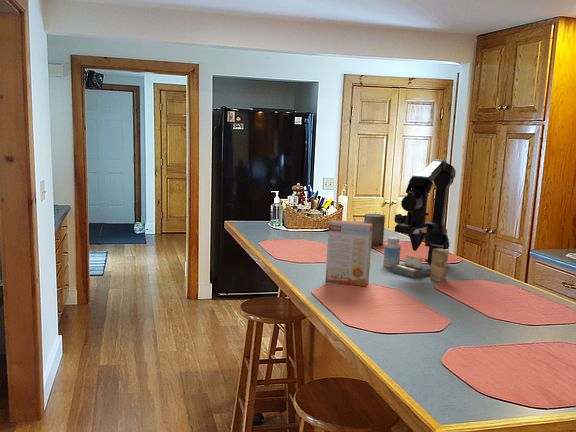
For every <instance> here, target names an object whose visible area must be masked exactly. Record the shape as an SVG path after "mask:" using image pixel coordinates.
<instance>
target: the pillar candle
mask: <svg viewBox="0 0 576 432" xmlns="http://www.w3.org/2000/svg"><path fill="white" fill-rule="evenodd" d="M363 218H364V219H363V223H371V224H373V225H372V241H371V246H380V245H379V244H382V245H384V238H385V237H384V236H385V223H386V222H385V221H386V215H385V214H381V213H376V212H374V213H365V214H364V217H363Z"/></svg>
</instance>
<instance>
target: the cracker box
mask: <svg viewBox="0 0 576 432" xmlns="http://www.w3.org/2000/svg"><path fill="white" fill-rule="evenodd" d="M372 225H373V224H371V223H364V222H360V221H350V220H338V219H337V220H336V219H332V220H330V221H329V223H328V238H327V250H326V251H327V252H326V264H325V265H326V269H325V282H328V283H329V282H331V283H337V284H343V285H345V284H346V285H352V286H358V287H366V286H367V285H368V284H369V281H370V280H369V279H370V267H371V266H370V265H371V253H372V251H371V250H372V245H371V241H372Z"/></svg>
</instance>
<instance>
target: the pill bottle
mask: <svg viewBox="0 0 576 432" xmlns="http://www.w3.org/2000/svg"><path fill="white" fill-rule="evenodd" d="M386 241H387V242H386V243H385V244H384V251H383V252H384V253H383V262H382V263H383V265H384V266H385V267H386V268H392V265H397V264H400V259H401V258H400V257H401V244H400V243H399V242H400V238H399V237H396V236H387V240H386Z"/></svg>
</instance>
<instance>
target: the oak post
mask: <svg viewBox="0 0 576 432" xmlns="http://www.w3.org/2000/svg"><path fill="white" fill-rule="evenodd" d="M449 252H450V251H449V249H441V248H437V249H433V250H432V261H431V262H430V267H431V271H430V275H429V280H432V281H436V282H438V283H439V282H443V281H446V280H447V271H448V262H449Z"/></svg>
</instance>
